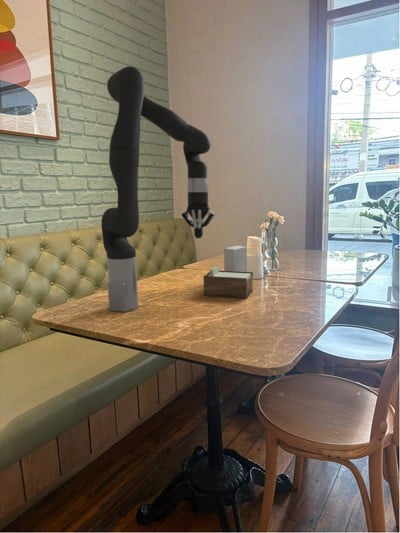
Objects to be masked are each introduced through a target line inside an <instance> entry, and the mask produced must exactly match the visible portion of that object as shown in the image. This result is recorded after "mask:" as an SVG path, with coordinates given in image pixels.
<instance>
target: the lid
mask: <svg viewBox="0 0 400 533" xmlns="http://www.w3.org/2000/svg"><path fill="white" fill-rule="evenodd" d="M219 271H220V266H219V265H215V266H214V267H212V268H210V269H209V272H210V275H208V276H216V277H234V278H247V280H248V279H249V278H250V277H251V274H250V273H230V272H219Z"/></svg>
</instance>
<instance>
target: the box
mask: <svg viewBox="0 0 400 533" xmlns="http://www.w3.org/2000/svg"><path fill="white" fill-rule="evenodd" d="M219 272H230V273H250V274H251V277H250V278H249V279H248V280H247V278H234V277H216V276H208V275H210V271H209V272H207V273H206V274H205V275H203V296H204V297H218V298H233V299H248V298H249V297H250V295H251V294H252V293H253V291H254V290H253V288H254V287H253V286H254V284H253V283H254V279H253V276H254V272H253V271H247V272H239V271H224V270H219Z"/></svg>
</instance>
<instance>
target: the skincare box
mask: <svg viewBox="0 0 400 533" xmlns="http://www.w3.org/2000/svg"><path fill="white" fill-rule="evenodd" d="M223 262H224V263H223V264H224V265H223V268H224V269H223V271H239V272H248V267H247V266H248V247H247V246H244V245H233V246H230V247H224V248H223Z"/></svg>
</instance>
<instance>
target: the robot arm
mask: <svg viewBox="0 0 400 533" xmlns="http://www.w3.org/2000/svg"><path fill="white" fill-rule="evenodd" d="M106 88H107V92H108V94H109V95H110V97H111V98H112V99H113V100H114V101H115V102H116V103H118V112H117V113H118V114H117V118H116V122H115V124H114V127H113V131H112V134H111V137H110V142H109V152H108V153H109V155H108V156H109V157H108V158H109V159H108V164H109V169H110V172H111V175H112V177H113V180H114V183H115V185H116V189H117V191H116V192H117V207H109V208H107V209H106V210H105V211H104V213H103V214H102V218H101V234H102V241H103V242H102V244H103V248H104V252H105V253H106V258H107V259H106V260H107V274H108V276H107V277H108V279H107V280H108V282H107V295H108V296H107V297H108V310H109V311H112V312H123V313H126V312H128V311H133V310H136V309H138V308H139V294H138V278H137V277H138V276H137V273H138V272H137V255H136V254H137V252H136V248H135V247H134V246H133V245H131V244H130V242H129V240H128V238H130V237H133V236H134V235H136V233H137V231H138V229H139V225H140V210H139V164H140V137H141V118H142V117H143V118H145V119H146V120H148V121H149V122H150V123H152V124H153V125H155V126H156V127H158V128H159V129H160V130H162V131H163V132H164V133H165V134H167V135H168V136H169V137H170V138H172V139H173V140H174V141H177V142H182V143H183V144H182V146H183V148H182V150H183V155H184V158H185V162H186V165H187V185H186V186H187V187H186V188H187V208H186V210H185V211H184V212H183V213H181V216H182V218H183V219H184V221H185V222H186V224H188V225H189V227H191V228H193V236H194V237H195V239H201V238H202V237H203V234H204V232H203V231H204V230H203V228H204V227H208V225H210V223H211V221H212V220H213V218H214V217H215V216H216V213H215V212H212V211H211V209H210V207H209V184H208V183H209V182H208V166H207V163H206V162H205V161H202V158H201V155H203V154H206V153H207V152H209V151H210V149H211V147H212V146H211V145H212V144H211V143H212V142H211V140H210V137H209V136H208V135H207V134H206V133H205V132H204V131H202V130H201V129H198V128H197V127H195V126H193V125H192V124H189V123H187V122H186V121H185V120H184V119H183V118H182V117H181V116H179V115H178V114H177V113H175V112H174V111H173V110H171V109H169V108H167V107H165V106H163V105H161V104H159V103H157V102H154V101H153V100H151V99H150V98H148V97H146V96H145V79H144V77H143V75H142V73H141V71H140V70H139V69H138V68H136V67H134V66H131V65H130V66H125V67H123V68H121V69H120V70H119V69H118V70H117V71H116V72H114V73H113V74H112V75H110V77H109V78H108V79H107V85H106ZM206 216H207V218H206ZM191 218H192V219H191ZM205 218H206V219H205Z"/></svg>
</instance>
